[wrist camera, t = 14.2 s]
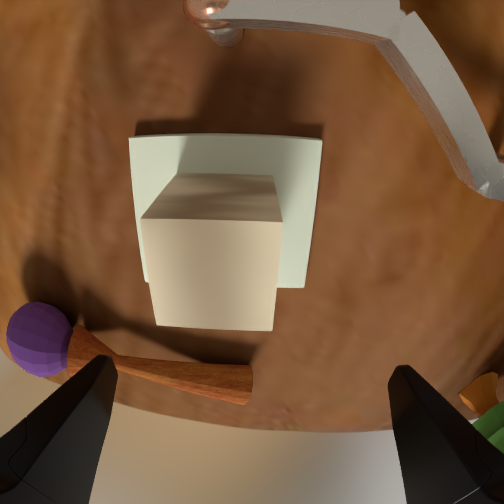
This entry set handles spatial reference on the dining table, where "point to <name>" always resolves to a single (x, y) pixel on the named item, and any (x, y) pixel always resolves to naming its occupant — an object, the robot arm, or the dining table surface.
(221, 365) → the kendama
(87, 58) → the dining table surface
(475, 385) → the decorative tree
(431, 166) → the dining table surface
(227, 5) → the steel handle
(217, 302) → the birch block
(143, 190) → the sage pad
